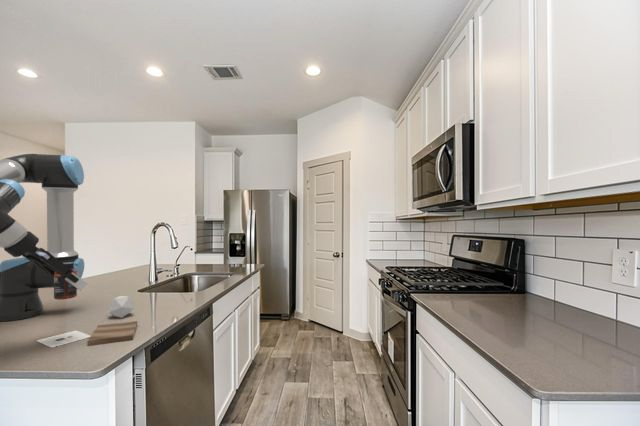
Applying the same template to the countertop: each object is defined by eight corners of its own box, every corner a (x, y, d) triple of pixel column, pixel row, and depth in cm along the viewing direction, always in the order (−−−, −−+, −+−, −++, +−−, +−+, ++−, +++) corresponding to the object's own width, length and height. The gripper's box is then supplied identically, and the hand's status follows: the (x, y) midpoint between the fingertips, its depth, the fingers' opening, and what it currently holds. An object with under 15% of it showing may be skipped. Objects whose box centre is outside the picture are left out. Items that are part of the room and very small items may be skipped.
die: (138, 316, 131) (136, 294, 136) (125, 311, 123) (124, 288, 128) (117, 324, 130) (116, 302, 135) (103, 319, 122) (103, 296, 127)
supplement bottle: (80, 295, 108) (81, 261, 108) (71, 299, 102) (72, 263, 103) (60, 296, 107) (61, 261, 107) (49, 300, 101) (50, 264, 101)
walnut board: (98, 329, 113) (98, 325, 113) (137, 325, 118) (137, 320, 118) (87, 345, 99) (87, 340, 99) (132, 339, 104) (132, 335, 104)
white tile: (36, 340, 102) (36, 340, 102) (76, 330, 112) (76, 330, 112) (51, 347, 97) (51, 347, 97) (92, 336, 106) (92, 336, 106)
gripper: (-9, 247, 97) (56, 292, 110) (16, 250, 87) (83, 299, 101) (15, 229, 101) (74, 274, 115) (41, 230, 92) (102, 279, 106)
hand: (78, 285), depth 108 cm, fingers closed on supplement bottle, 6 cm apart
